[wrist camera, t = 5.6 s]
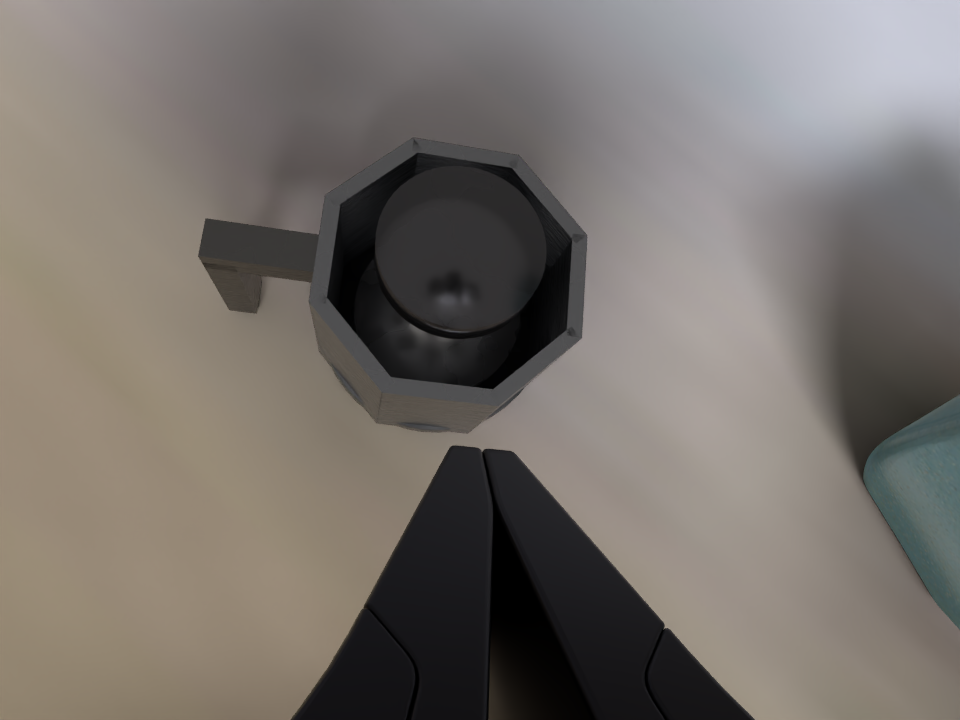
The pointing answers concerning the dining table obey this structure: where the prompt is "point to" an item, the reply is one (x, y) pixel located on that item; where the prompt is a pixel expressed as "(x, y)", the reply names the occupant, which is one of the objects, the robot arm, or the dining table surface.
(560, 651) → the robot arm
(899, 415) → the dining table surface
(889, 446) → the flower pot
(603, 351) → the dining table surface
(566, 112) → the dining table surface
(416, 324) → the dark round piece
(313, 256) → the grey octagonal mug
